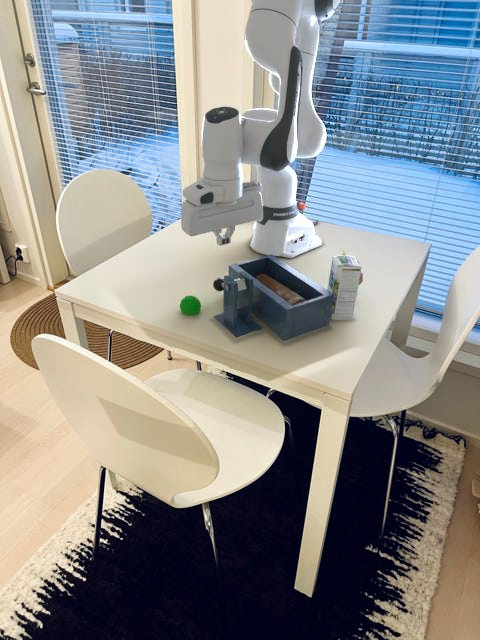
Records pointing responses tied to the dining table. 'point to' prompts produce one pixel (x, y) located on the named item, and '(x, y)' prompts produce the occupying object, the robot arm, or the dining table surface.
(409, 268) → the dining table surface
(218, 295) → the dining table surface
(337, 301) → the syrup box
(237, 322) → the lever bracket
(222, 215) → the robot arm
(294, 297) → the bread
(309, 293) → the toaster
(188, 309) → the polyhedron
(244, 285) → the toaster lever
